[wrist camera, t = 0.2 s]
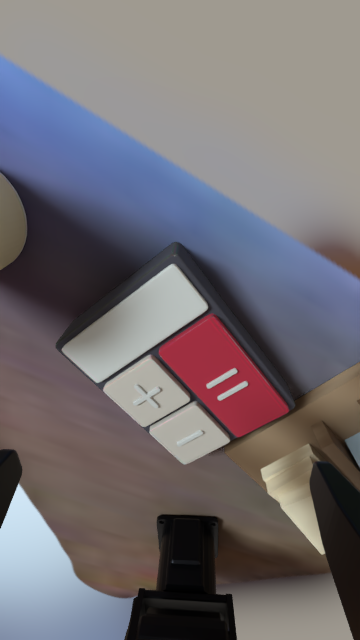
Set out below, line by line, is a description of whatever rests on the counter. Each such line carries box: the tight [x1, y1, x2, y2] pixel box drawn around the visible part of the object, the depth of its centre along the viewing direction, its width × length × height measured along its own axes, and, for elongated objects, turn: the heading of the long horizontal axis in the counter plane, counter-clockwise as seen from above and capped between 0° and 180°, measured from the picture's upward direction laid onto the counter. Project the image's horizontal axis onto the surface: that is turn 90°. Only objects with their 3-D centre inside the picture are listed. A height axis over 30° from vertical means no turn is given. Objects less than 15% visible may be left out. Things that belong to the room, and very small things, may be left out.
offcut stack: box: [261, 444, 325, 555], centre depth 27 cm, size 5×9×3 cm, turn 42°
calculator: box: [56, 242, 295, 464], centre depth 24 cm, size 11×4×15 cm
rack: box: [224, 362, 360, 503], centre depth 27 cm, size 14×16×4 cm
